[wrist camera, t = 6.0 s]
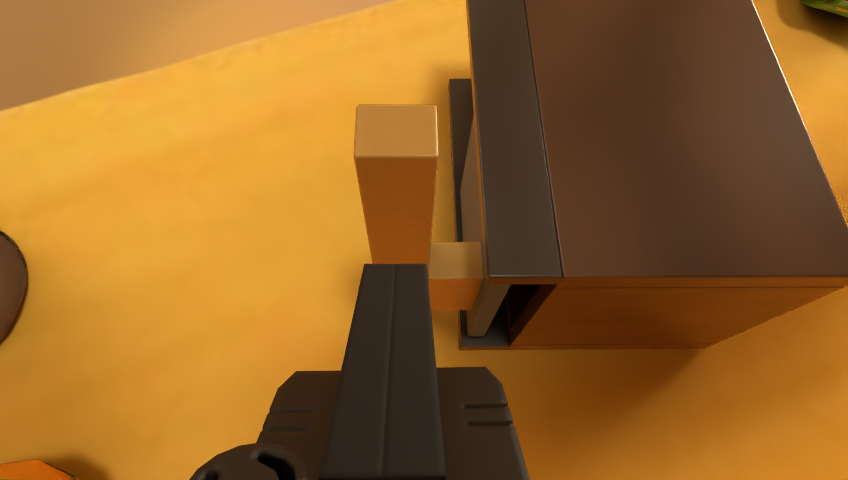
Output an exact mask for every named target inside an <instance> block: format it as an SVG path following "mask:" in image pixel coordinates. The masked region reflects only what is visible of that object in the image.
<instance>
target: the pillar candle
mask: <svg viewBox="0 0 848 480" xmlns="http://www.w3.org/2000/svg"><path fill="white" fill-rule="evenodd" d="M25 267H26V265H25V262H24V259H23V257H22V254H21V251H19V250H17V246H16V244H15V242H14V241H13V240H12V239H11V238H9V237H8V236H7V235H6V234H5V233H4V232H2V231H0V342H1V341H2V340H3V338H4V337H5V335H6V333H7V331H8V330H9V329H10V327H11V326H12V323H13V322H14V319H15V317H16V314H17V312H18V309H19V307H20V305H21V302H22V299H23V296H24V292H25V289H26V282H27V272H26V270H25Z"/></svg>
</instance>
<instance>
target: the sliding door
mask: <svg viewBox="0 0 848 480" xmlns="http://www.w3.org/2000/svg"><path fill="white" fill-rule="evenodd" d="M438 156H439V155H438V122H437V107H436V105H391V104H359V105H358V106H357V108H356V125H355V142H354V160H355V166H356V172H357V177H358V183H359V189H360V195H361V200H362V206H363V212H364V217H365V223H366V229H367V235H368V240H369V246H370V252H371V258H372V263H373V264H427V273H428V284H429V295H430V306H431V310H466V314H467V334H468V337H483V336H484V335H485V333H486V331H487V329H488V327H489V326H490V324H491V322H492V320H493V318H494V316H495V314H496V312H497V310H498V308H499V306H500V305H501V303H502V301H503V299H504V297H505V295H506V293H507V291H508V289H509V287H510V286H511V284H486V282H485V269H484V255H483V240H482V226H481V211H480V197H479V182H478V168H477V154H476V139H475V125H474V115H473V121H472V127H471V132H470V138H469V144H468V149H467V155H466V161H465V167H464V172H463V178H462V184H461V189H460V196H461V215H462V235H463V242H431V235H432V223H433V212H434V201H435V190H436V179H437V168H438Z"/></svg>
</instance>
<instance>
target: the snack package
mask: <svg viewBox="0 0 848 480" xmlns="http://www.w3.org/2000/svg"><path fill="white" fill-rule="evenodd" d="M800 1H801V3H802V4H804V5H806V6H810V7H813V8H817V9H821V10H824V11H828V12H832V13H835V14H838V15H841V16H844V17H847V18H848V0H800Z"/></svg>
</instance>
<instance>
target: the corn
mask: <svg viewBox="0 0 848 480" xmlns="http://www.w3.org/2000/svg"><path fill="white" fill-rule="evenodd" d="M0 480H78V479H76V478H75V476H74V475H72V474H70V473H67V472H65V471H63V470H61V469H58V468H56V467H54V466H52V465H49V464H47V463H43V462H41V461H39V460H31V461H23V462H15V463H7V464H0Z"/></svg>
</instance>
